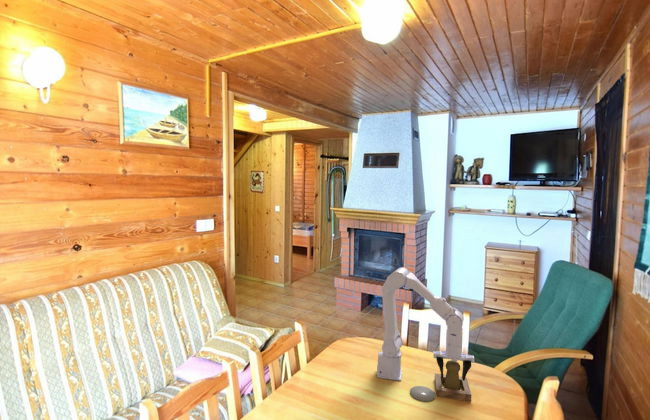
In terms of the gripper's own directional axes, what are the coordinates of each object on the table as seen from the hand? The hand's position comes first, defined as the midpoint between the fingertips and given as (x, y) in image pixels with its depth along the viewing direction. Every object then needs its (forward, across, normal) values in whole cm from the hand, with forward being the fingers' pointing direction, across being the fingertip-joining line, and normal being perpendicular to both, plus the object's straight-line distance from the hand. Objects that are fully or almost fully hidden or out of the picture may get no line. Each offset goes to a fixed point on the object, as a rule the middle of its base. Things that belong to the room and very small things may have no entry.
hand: (452, 377), depth 137 cm
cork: (+5, 0, 0) cm, 5 cm away
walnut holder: (+5, 0, 0) cm, 5 cm away
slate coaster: (+5, -11, -6) cm, 13 cm away
